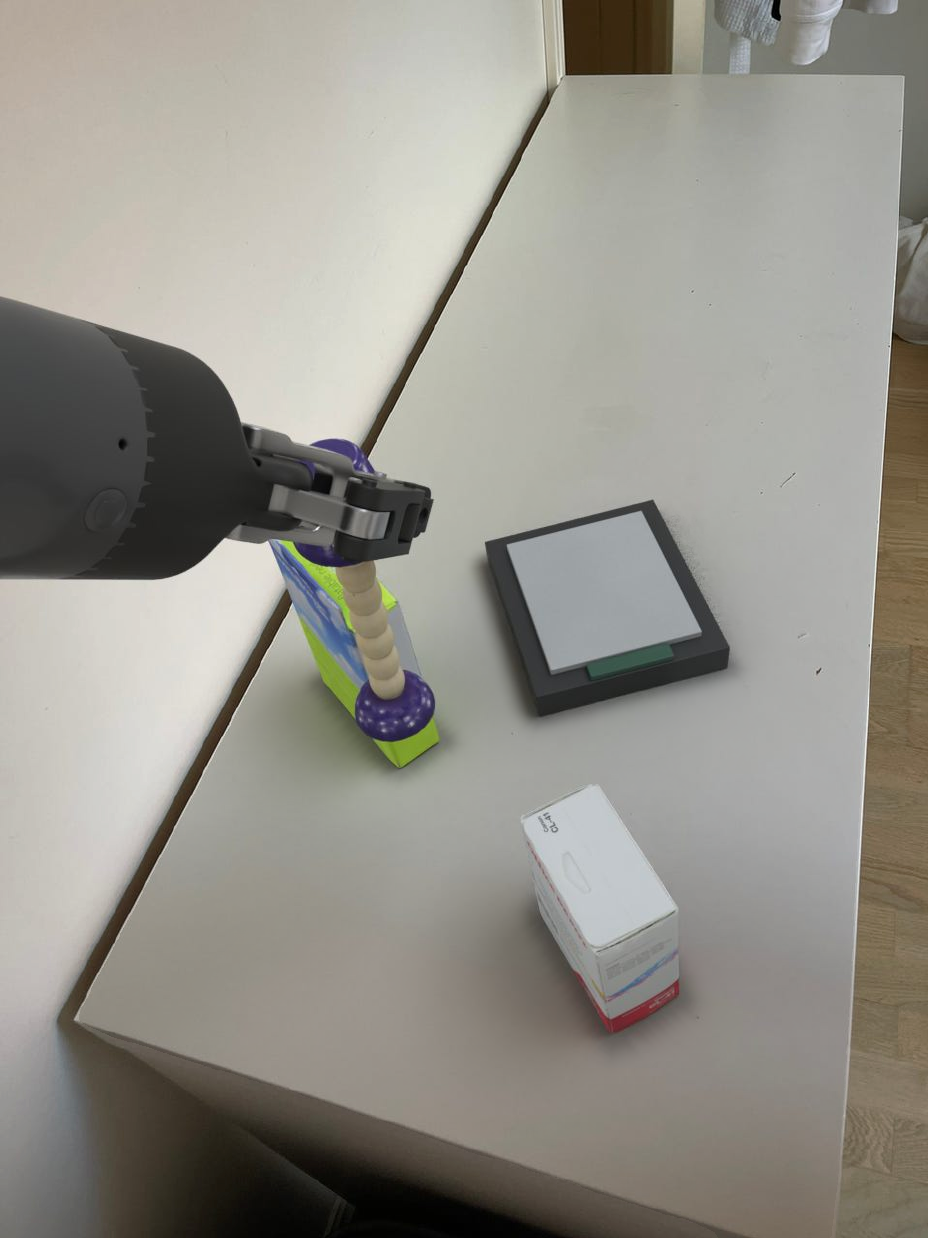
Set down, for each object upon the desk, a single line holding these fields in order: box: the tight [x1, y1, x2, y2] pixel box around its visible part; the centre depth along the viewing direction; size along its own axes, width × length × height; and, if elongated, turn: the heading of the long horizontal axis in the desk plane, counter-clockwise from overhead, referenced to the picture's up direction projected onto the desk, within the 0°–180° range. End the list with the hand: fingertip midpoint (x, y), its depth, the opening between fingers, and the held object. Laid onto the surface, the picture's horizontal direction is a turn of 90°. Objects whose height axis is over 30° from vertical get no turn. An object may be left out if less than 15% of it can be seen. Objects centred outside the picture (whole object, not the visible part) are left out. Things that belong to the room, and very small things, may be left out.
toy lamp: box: [293, 437, 436, 742], centre depth 46 cm, size 5×5×17 cm
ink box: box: [519, 782, 680, 1034], centre depth 54 cm, size 9×5×12 cm, turn 25°
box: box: [267, 539, 440, 769], centre depth 66 cm, size 10×4×17 cm, turn 36°
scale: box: [484, 499, 731, 717], centre depth 75 cm, size 16×14×3 cm
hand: (369, 494), depth 43 cm, fingers closed on toy lamp, 4 cm apart
